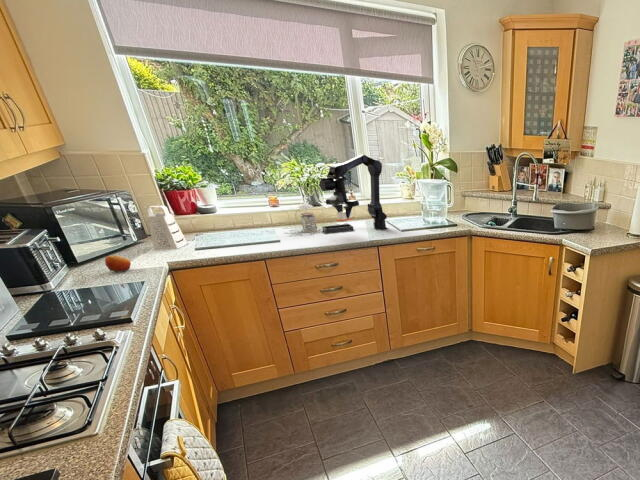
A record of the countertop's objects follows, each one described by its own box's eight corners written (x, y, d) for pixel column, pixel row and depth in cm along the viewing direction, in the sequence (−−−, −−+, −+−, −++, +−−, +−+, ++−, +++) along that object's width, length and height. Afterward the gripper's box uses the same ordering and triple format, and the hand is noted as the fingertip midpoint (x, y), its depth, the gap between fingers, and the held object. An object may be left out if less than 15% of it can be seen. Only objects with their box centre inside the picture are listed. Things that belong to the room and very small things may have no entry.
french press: (321, 230, 251) (312, 187, 239) (300, 233, 245) (290, 188, 233) (317, 227, 258) (308, 185, 246) (297, 229, 253) (287, 186, 240)
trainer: (347, 217, 244) (346, 210, 242) (353, 218, 243) (352, 210, 241) (336, 220, 236) (335, 212, 234) (343, 221, 235) (341, 213, 233)
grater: (177, 248, 211) (162, 208, 201) (154, 249, 209) (137, 208, 199) (187, 243, 220) (173, 204, 210) (166, 243, 218) (150, 204, 208)
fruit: (98, 270, 174) (102, 252, 175) (120, 274, 182) (124, 257, 182) (110, 272, 172) (114, 254, 172) (132, 277, 180) (136, 259, 180)
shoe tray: (349, 227, 260) (349, 223, 259) (353, 230, 254) (353, 226, 253) (322, 230, 252) (322, 226, 251) (326, 233, 246) (325, 229, 245)
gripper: (316, 190, 227) (322, 219, 235) (344, 192, 222) (349, 222, 230) (330, 187, 237) (335, 215, 244) (357, 189, 232) (361, 218, 239)
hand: (345, 217), depth 239 cm, fingers closed on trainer, 4 cm apart
